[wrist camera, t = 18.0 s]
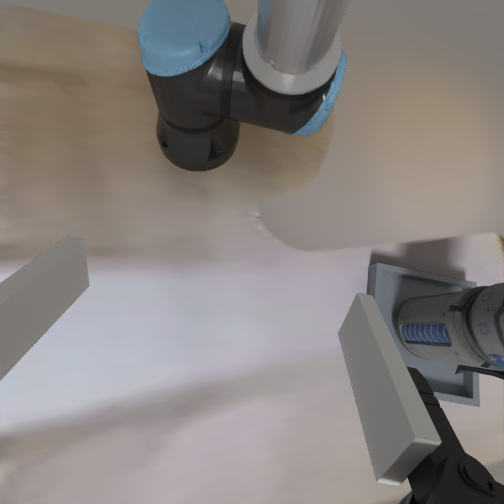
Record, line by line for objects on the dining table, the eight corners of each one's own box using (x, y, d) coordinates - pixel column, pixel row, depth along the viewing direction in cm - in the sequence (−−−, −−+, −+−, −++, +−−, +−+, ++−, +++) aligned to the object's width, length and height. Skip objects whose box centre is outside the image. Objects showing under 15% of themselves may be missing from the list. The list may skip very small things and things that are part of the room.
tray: (368, 266, 53) (377, 262, 50) (462, 285, 54) (476, 282, 51) (360, 382, 48) (368, 386, 45) (464, 402, 48) (479, 407, 45)
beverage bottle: (405, 380, 47) (591, 433, 23) (381, 299, 50) (522, 274, 26) (460, 366, 49) (689, 403, 25) (433, 288, 52) (613, 254, 28)
